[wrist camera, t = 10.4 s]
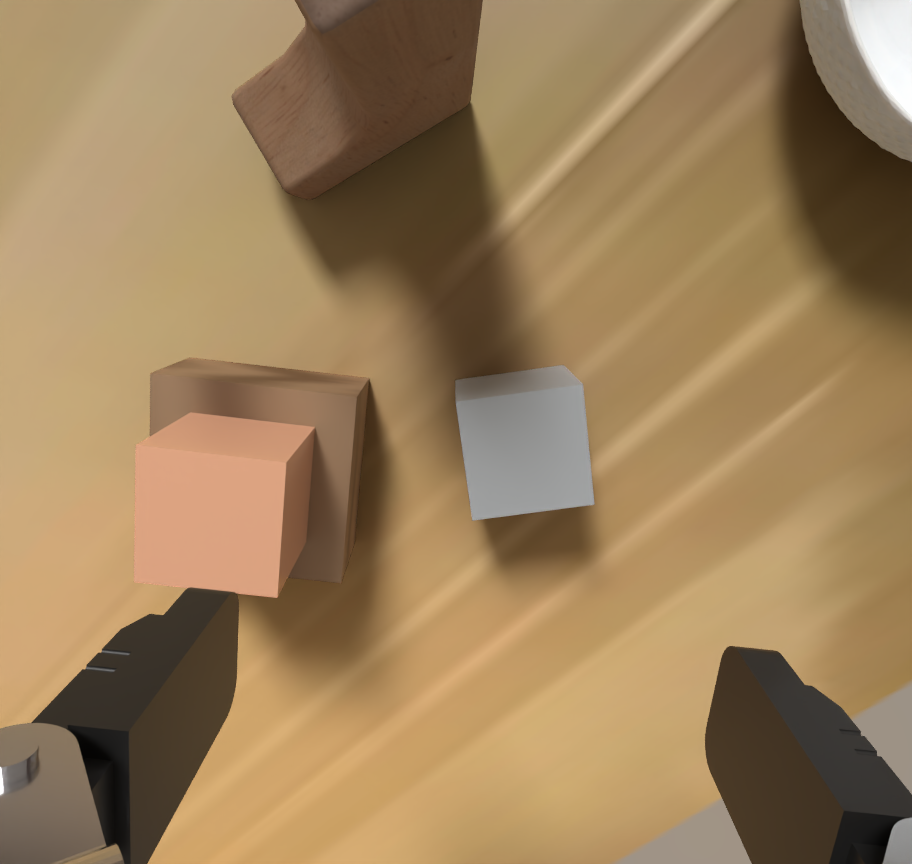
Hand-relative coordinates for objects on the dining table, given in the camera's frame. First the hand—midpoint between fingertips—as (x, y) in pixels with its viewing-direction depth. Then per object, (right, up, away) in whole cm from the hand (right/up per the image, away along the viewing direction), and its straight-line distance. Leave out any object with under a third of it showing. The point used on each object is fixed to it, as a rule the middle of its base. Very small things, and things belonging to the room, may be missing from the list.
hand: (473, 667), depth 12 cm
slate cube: (+3, +4, +25) cm, 25 cm away
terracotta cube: (-10, +2, +20) cm, 22 cm away
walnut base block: (-10, +3, +25) cm, 27 cm away
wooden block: (-4, +19, +21) cm, 28 cm away
